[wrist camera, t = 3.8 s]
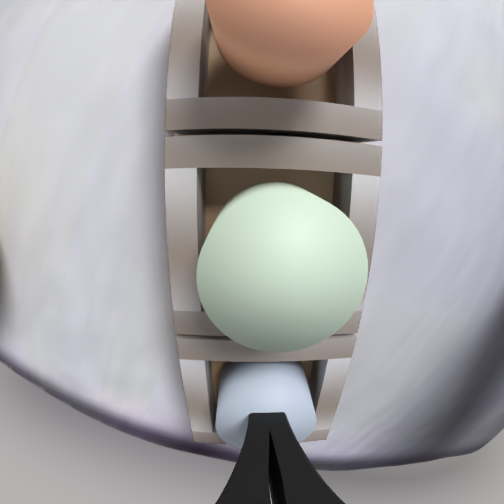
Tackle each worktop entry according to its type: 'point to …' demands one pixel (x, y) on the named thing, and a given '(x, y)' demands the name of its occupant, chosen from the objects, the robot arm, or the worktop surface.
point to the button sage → (281, 268)
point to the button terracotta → (286, 36)
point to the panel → (257, 171)
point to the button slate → (263, 398)
